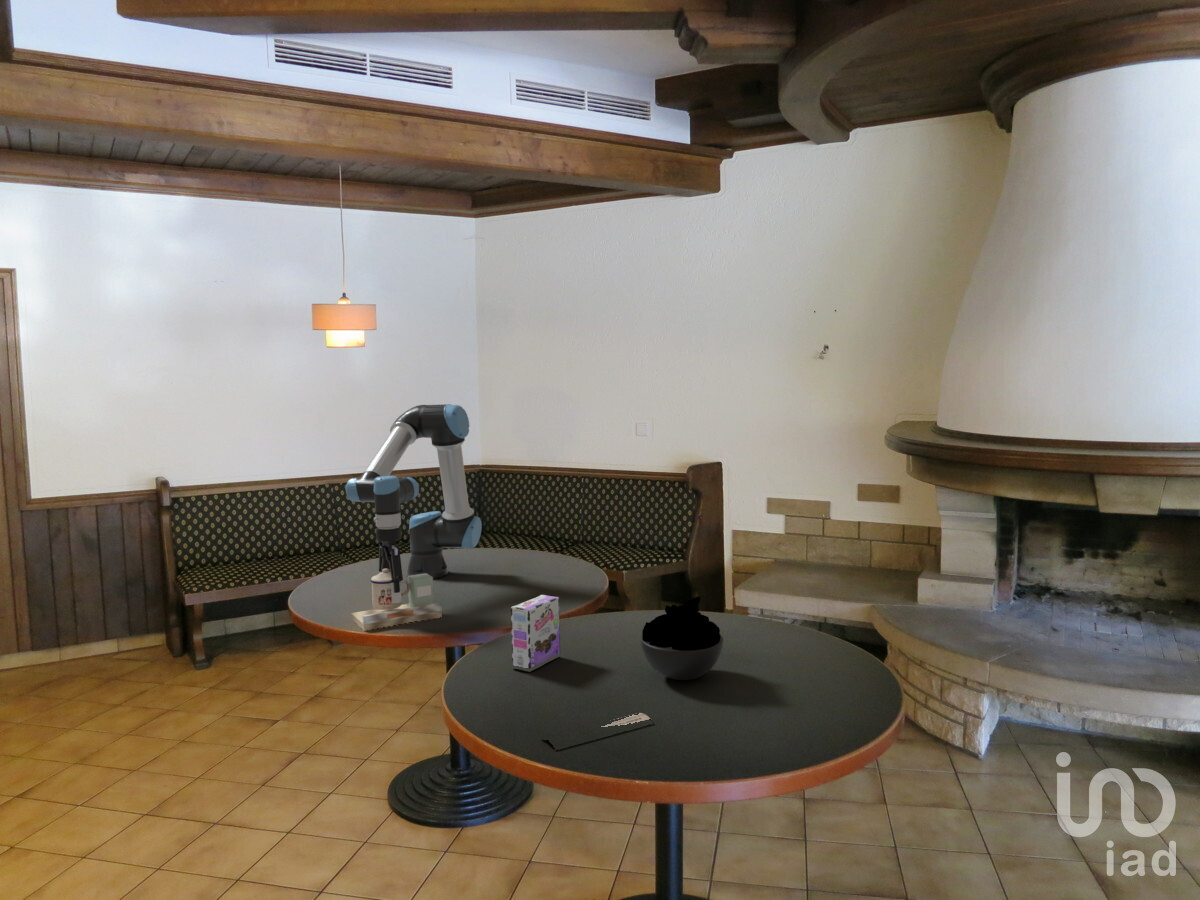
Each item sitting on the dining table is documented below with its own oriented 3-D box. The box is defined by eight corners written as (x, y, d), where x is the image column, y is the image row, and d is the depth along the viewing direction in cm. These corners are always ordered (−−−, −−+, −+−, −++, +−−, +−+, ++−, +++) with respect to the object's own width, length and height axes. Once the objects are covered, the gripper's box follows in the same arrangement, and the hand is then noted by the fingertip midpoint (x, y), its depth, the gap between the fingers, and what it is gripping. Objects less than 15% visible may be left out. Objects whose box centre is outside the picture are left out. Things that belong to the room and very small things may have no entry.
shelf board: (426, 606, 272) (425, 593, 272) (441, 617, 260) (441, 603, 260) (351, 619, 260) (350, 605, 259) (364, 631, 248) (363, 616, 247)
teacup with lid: (377, 612, 253) (375, 574, 252) (367, 605, 261) (366, 568, 259) (415, 605, 260) (414, 568, 258) (405, 598, 267) (403, 562, 266)
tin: (427, 604, 268) (426, 573, 267) (434, 608, 263) (432, 577, 262) (409, 607, 265) (407, 575, 264) (415, 611, 260) (414, 579, 259)
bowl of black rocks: (665, 699, 193) (664, 618, 191) (627, 670, 211) (626, 597, 210) (739, 684, 201) (739, 607, 199) (697, 658, 219) (696, 587, 217)
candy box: (530, 674, 211) (528, 609, 209) (511, 669, 214) (509, 606, 212) (561, 657, 222) (560, 596, 221) (543, 653, 226) (541, 593, 224)
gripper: (366, 523, 265) (369, 593, 267) (386, 534, 246) (390, 609, 249) (389, 520, 269) (392, 589, 271) (411, 531, 250) (415, 605, 253)
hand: (391, 599), depth 260 cm, fingers closed on teacup with lid, 9 cm apart
